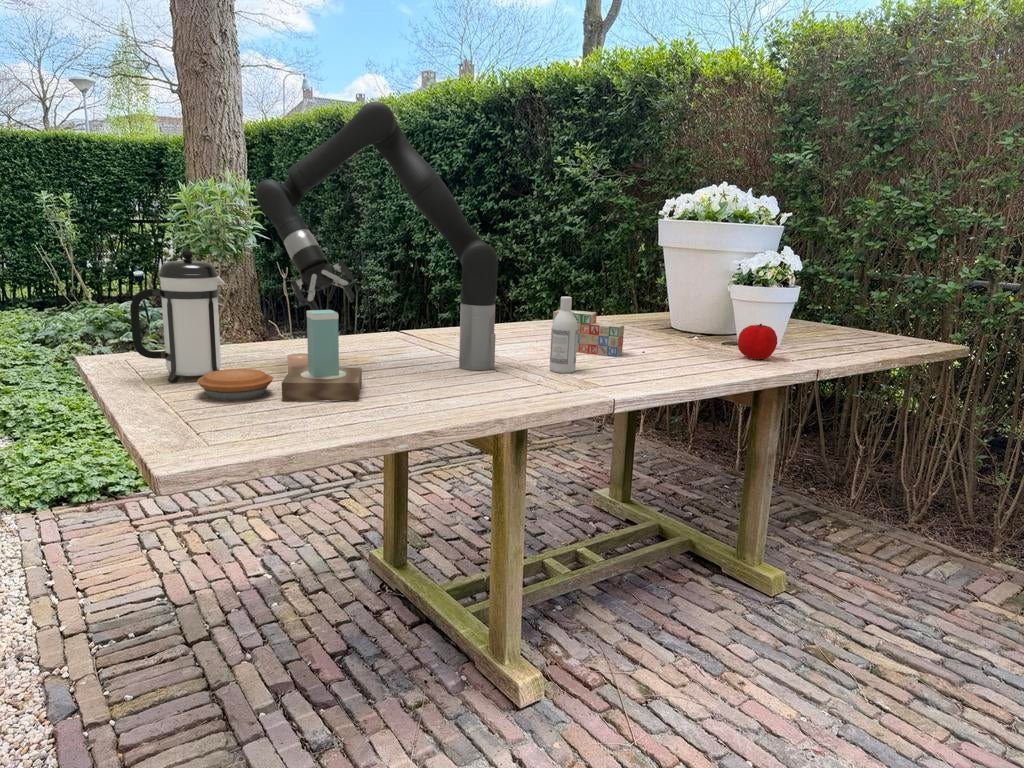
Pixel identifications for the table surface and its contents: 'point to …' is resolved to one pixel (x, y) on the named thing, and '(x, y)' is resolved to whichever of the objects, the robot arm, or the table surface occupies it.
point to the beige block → (297, 360)
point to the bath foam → (564, 339)
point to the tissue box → (321, 385)
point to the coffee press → (185, 318)
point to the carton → (323, 343)
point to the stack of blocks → (597, 335)
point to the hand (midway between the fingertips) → (336, 308)
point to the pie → (235, 384)
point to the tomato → (757, 341)
